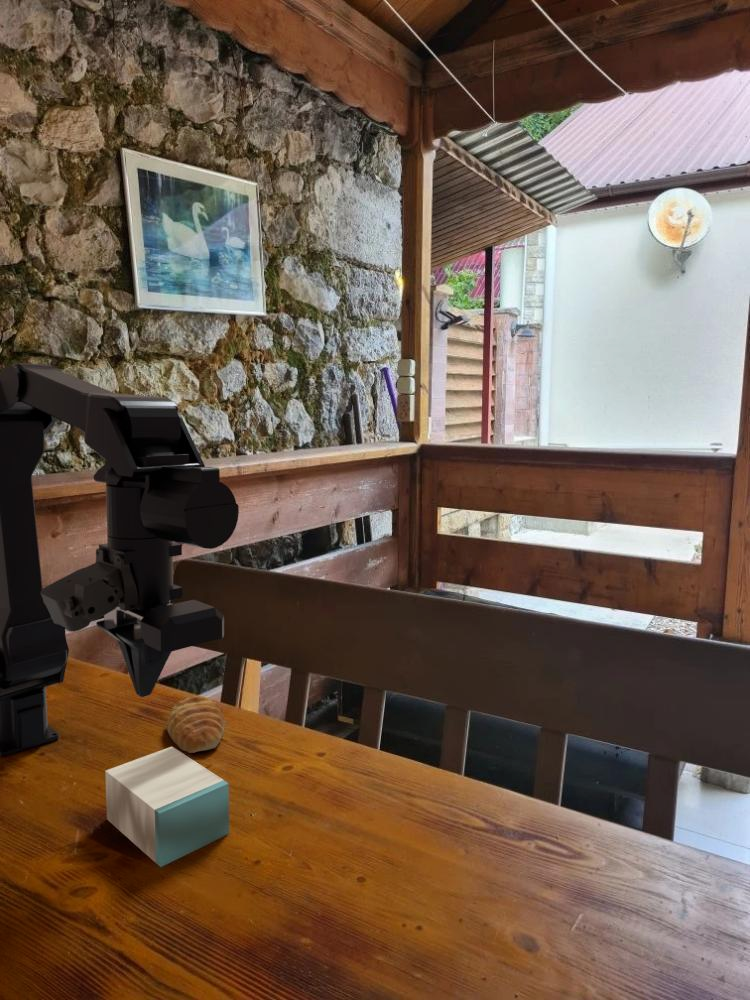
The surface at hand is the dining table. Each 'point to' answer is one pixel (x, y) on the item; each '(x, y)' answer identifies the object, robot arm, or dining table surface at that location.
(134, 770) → the birch block
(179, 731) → the pastry
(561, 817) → the dining table surface
